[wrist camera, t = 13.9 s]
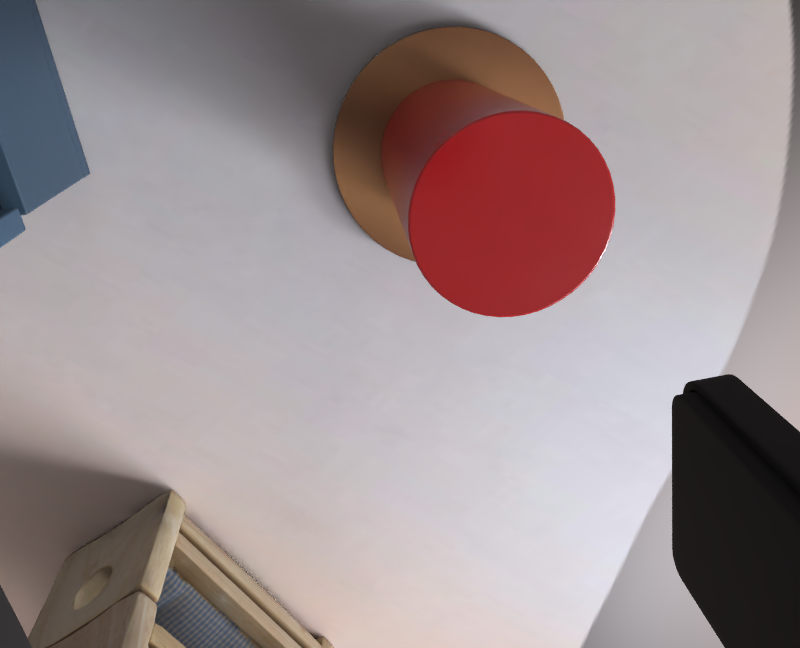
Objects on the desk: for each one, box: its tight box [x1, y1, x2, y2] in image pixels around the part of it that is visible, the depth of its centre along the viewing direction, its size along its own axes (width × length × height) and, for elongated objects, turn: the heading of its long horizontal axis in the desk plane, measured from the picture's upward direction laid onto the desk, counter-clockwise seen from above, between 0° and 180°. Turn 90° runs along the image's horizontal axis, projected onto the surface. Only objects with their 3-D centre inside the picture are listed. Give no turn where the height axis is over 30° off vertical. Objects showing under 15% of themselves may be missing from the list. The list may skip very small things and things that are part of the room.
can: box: [381, 80, 615, 317], centre depth 25 cm, size 6×6×11 cm
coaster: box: [333, 26, 564, 262], centre depth 30 cm, size 10×10×1 cm
